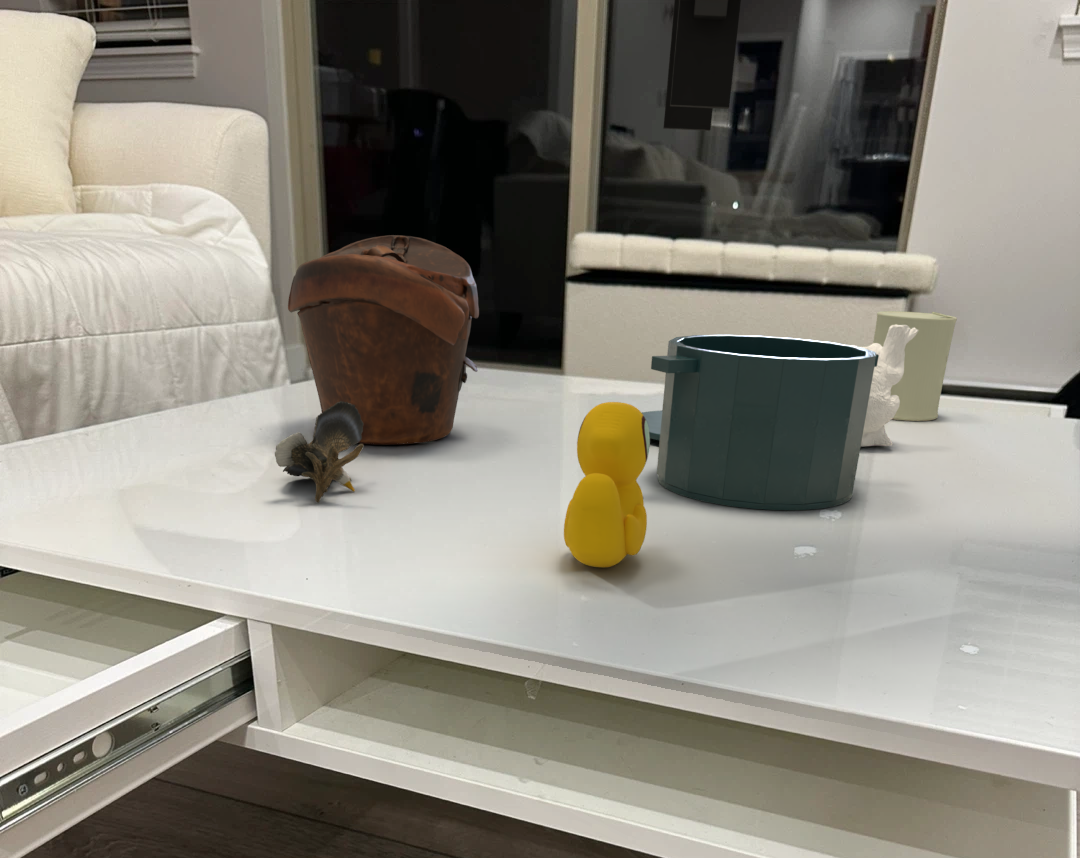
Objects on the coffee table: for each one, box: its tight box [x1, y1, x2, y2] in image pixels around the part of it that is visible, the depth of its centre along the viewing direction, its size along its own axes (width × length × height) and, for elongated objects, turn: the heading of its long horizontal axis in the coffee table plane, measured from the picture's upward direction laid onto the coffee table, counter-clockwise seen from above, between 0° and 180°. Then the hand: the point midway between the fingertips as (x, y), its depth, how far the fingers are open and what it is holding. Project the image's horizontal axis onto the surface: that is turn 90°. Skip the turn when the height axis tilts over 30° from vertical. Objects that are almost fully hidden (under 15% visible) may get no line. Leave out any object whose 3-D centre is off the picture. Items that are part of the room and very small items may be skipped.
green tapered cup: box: [872, 310, 958, 422], centre depth 127 cm, size 9×9×12 cm
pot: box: [650, 334, 879, 511], centre depth 89 cm, size 17×22×12 cm
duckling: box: [563, 401, 651, 568], centre depth 68 cm, size 11×5×10 cm, turn 166°
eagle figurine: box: [274, 401, 365, 503], centre depth 82 cm, size 8×7×9 cm
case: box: [287, 234, 480, 446], centre depth 101 cm, size 18×20×18 cm
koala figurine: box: [850, 325, 919, 448], centre depth 108 cm, size 8×7×12 cm
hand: (692, 120), depth 55 cm, fingers open, 13 cm apart
